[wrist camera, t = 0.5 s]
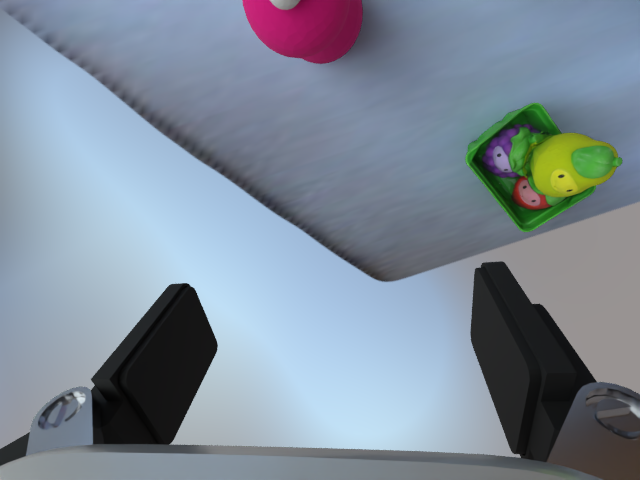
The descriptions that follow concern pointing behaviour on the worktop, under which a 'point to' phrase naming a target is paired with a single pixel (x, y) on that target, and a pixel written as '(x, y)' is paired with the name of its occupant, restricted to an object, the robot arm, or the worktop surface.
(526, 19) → the worktop surface
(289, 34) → the pepper mill
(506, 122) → the fruit basket
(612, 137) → the worktop surface
